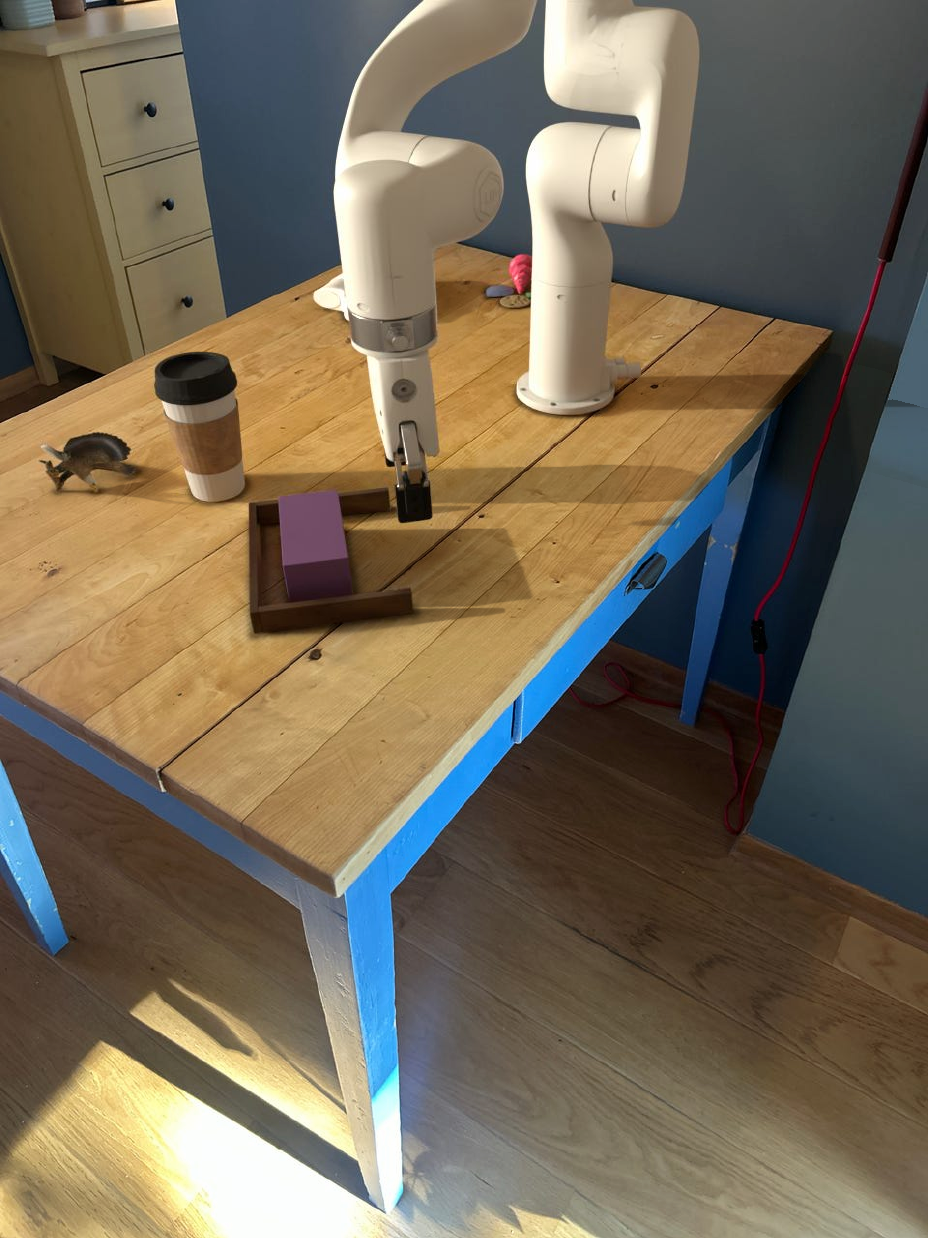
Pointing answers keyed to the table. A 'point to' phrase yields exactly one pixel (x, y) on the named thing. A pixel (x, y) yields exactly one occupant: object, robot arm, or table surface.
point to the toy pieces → (521, 277)
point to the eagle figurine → (88, 458)
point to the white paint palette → (333, 295)
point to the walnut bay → (327, 607)
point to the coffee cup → (203, 421)
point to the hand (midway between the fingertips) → (408, 490)
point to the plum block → (314, 546)
